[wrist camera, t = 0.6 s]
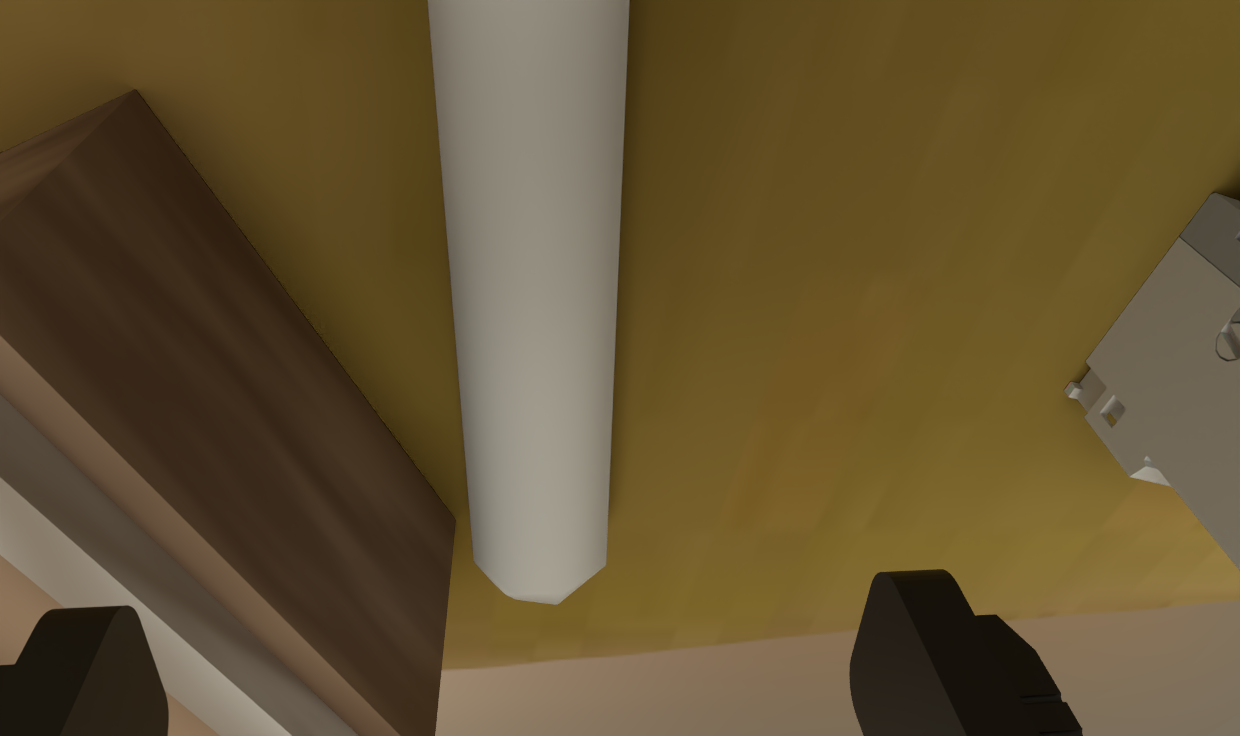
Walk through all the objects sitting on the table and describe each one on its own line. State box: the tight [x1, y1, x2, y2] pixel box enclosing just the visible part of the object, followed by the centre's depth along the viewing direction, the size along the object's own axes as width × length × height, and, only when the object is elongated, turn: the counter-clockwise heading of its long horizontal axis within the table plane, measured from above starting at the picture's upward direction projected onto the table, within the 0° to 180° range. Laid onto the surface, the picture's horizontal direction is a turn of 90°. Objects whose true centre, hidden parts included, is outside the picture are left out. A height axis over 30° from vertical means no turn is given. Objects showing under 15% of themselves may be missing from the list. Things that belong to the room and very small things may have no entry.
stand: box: [0, 90, 456, 736], centre depth 26 cm, size 14×18×12 cm
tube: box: [428, 0, 630, 605], centre depth 27 cm, size 5×5×25 cm
